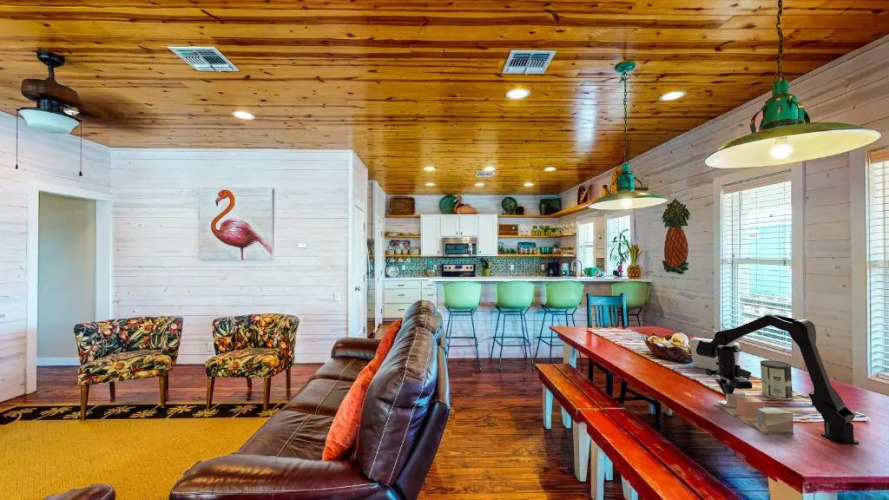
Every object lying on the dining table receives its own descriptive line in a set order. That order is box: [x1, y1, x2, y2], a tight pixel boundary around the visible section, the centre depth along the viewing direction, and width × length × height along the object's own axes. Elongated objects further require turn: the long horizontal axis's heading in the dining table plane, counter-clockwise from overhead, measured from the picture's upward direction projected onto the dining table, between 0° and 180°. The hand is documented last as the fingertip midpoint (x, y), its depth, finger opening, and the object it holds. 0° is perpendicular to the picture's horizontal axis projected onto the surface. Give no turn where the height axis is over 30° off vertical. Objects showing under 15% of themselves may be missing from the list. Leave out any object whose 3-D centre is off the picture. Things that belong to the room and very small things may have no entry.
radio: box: [688, 322, 741, 370], centre depth 200 cm, size 22×8×25 cm, turn 43°
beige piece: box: [714, 401, 795, 436], centre depth 142 cm, size 26×9×8 cm, turn 179°
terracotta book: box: [736, 397, 765, 418], centre depth 142 cm, size 4×7×6 cm, turn 88°
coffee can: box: [759, 359, 794, 401], centre depth 162 cm, size 10×10×14 cm
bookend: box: [717, 392, 746, 408], centre depth 151 cm, size 6×7×6 cm
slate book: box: [758, 407, 781, 427], centre depth 132 cm, size 3×7×6 cm, turn 89°
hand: (728, 398), depth 153 cm, fingers closed
